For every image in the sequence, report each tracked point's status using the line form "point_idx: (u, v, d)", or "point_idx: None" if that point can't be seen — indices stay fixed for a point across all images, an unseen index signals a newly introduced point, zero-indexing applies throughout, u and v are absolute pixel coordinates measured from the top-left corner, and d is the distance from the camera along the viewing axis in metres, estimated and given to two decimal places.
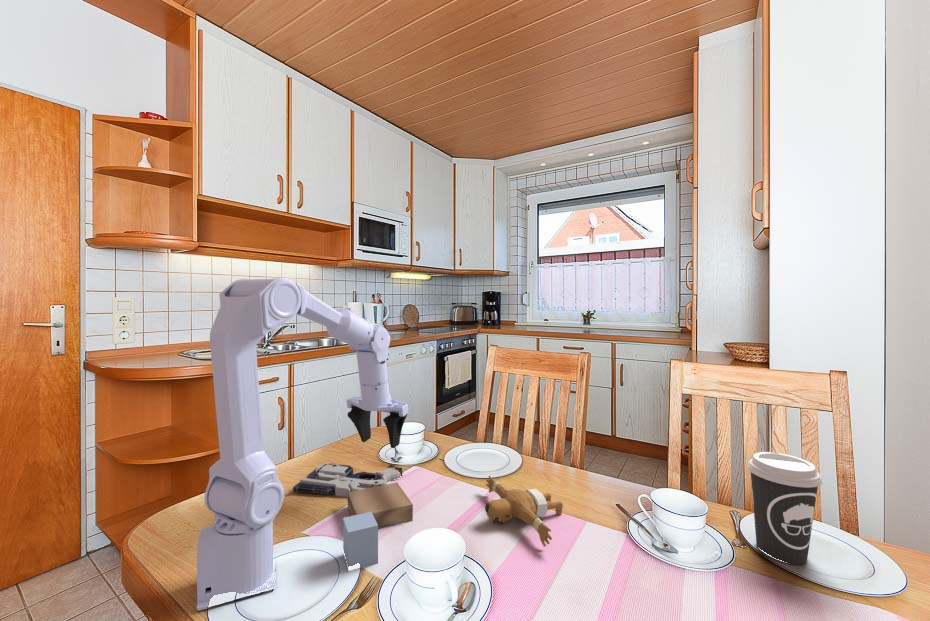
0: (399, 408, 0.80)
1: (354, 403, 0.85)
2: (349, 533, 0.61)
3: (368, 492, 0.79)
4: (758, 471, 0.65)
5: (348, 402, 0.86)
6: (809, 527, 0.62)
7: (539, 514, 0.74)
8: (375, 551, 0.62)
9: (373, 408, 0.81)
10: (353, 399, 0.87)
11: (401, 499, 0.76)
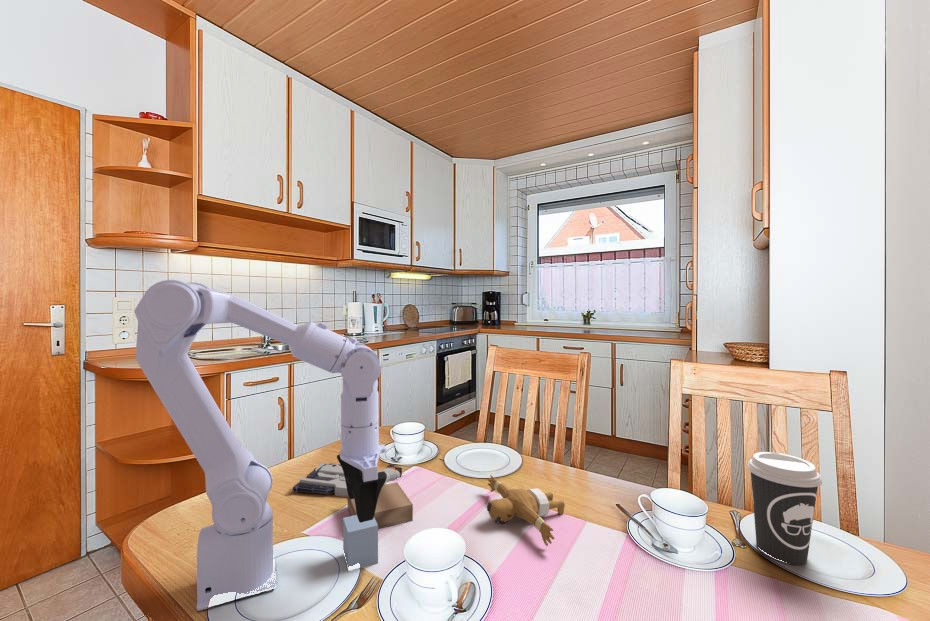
0: (362, 468, 0.57)
1: None
2: (349, 533, 0.61)
3: None
4: (758, 471, 0.65)
5: None
6: (809, 527, 0.62)
7: (541, 513, 0.74)
8: (375, 551, 0.62)
9: (344, 457, 0.61)
10: None
11: (401, 499, 0.76)
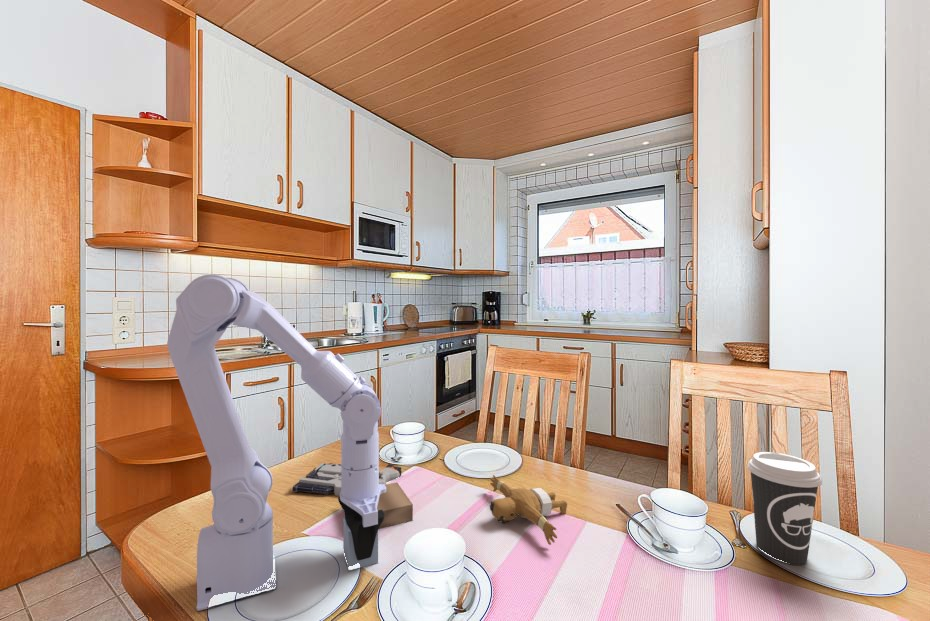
0: (362, 513, 0.57)
1: None
2: (349, 533, 0.61)
3: None
4: (758, 471, 0.65)
5: None
6: (809, 527, 0.62)
7: (544, 513, 0.75)
8: (375, 551, 0.62)
9: (344, 499, 0.61)
10: None
11: (401, 499, 0.76)
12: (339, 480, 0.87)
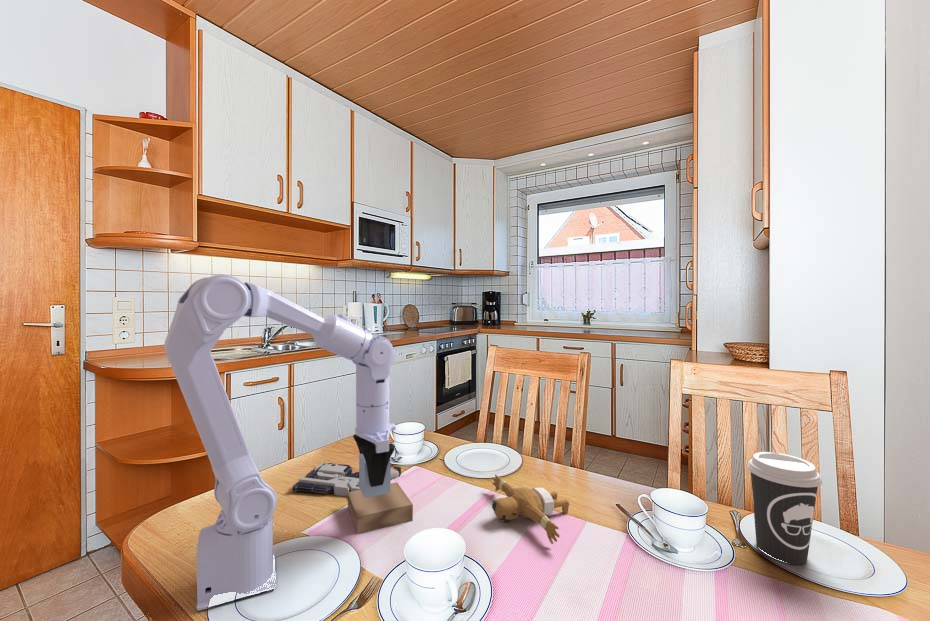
0: (375, 441, 0.65)
1: None
2: (365, 464, 0.69)
3: None
4: (758, 471, 0.65)
5: None
6: (809, 527, 0.62)
7: (546, 512, 0.75)
8: (388, 481, 0.70)
9: (359, 433, 0.69)
10: None
11: (401, 499, 0.76)
12: (339, 480, 0.87)
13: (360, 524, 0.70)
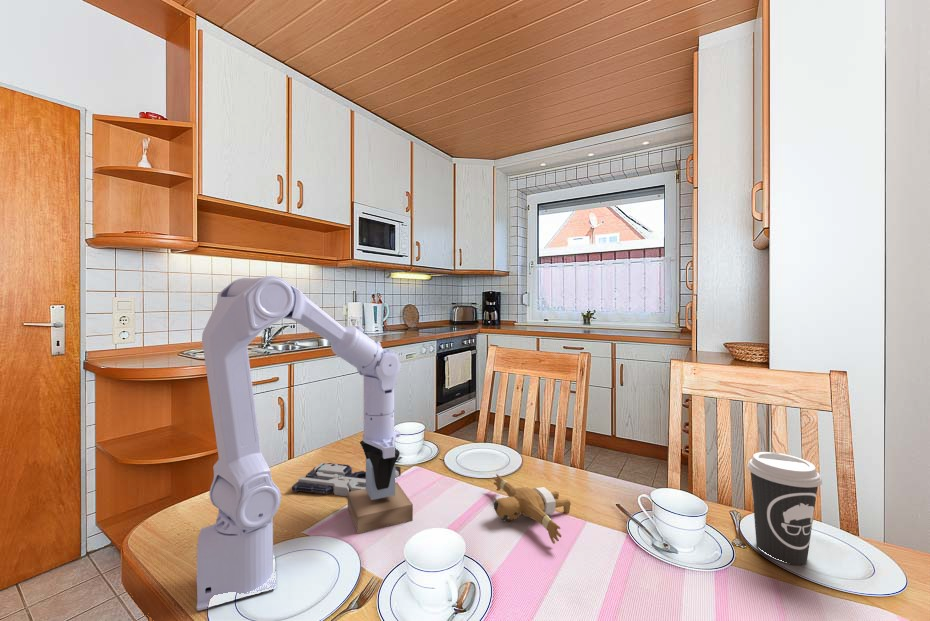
0: (382, 448, 0.70)
1: None
2: (372, 468, 0.74)
3: None
4: (758, 471, 0.65)
5: None
6: (809, 527, 0.62)
7: (547, 512, 0.75)
8: (393, 485, 0.76)
9: (366, 440, 0.74)
10: None
11: (401, 499, 0.76)
12: (338, 480, 0.87)
13: (360, 524, 0.70)
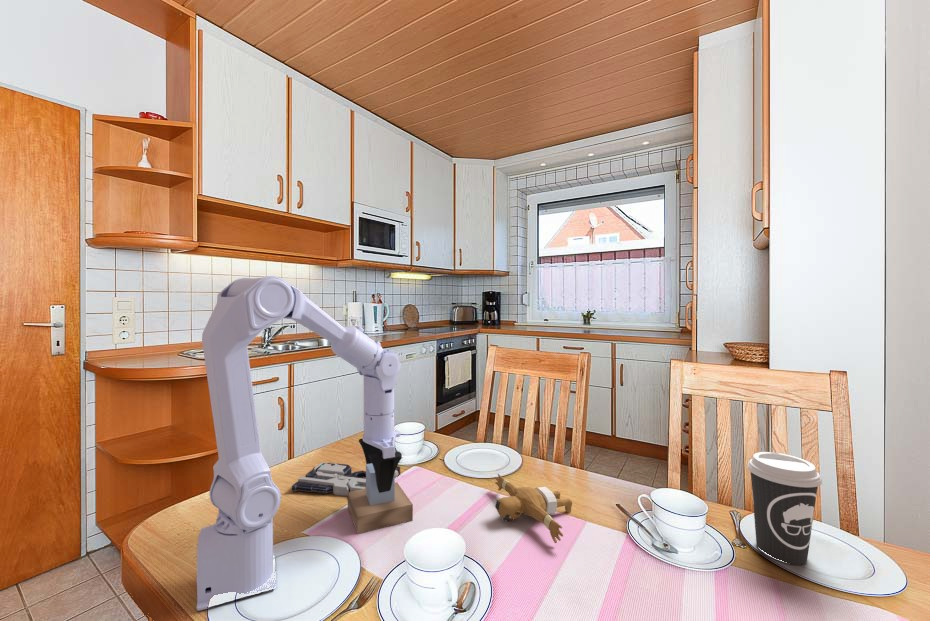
0: (382, 448, 0.70)
1: None
2: (371, 474, 0.74)
3: None
4: (758, 471, 0.65)
5: None
6: (809, 527, 0.62)
7: (549, 511, 0.75)
8: (392, 490, 0.76)
9: (366, 440, 0.74)
10: None
11: (401, 499, 0.76)
12: (338, 479, 0.87)
13: (360, 524, 0.70)
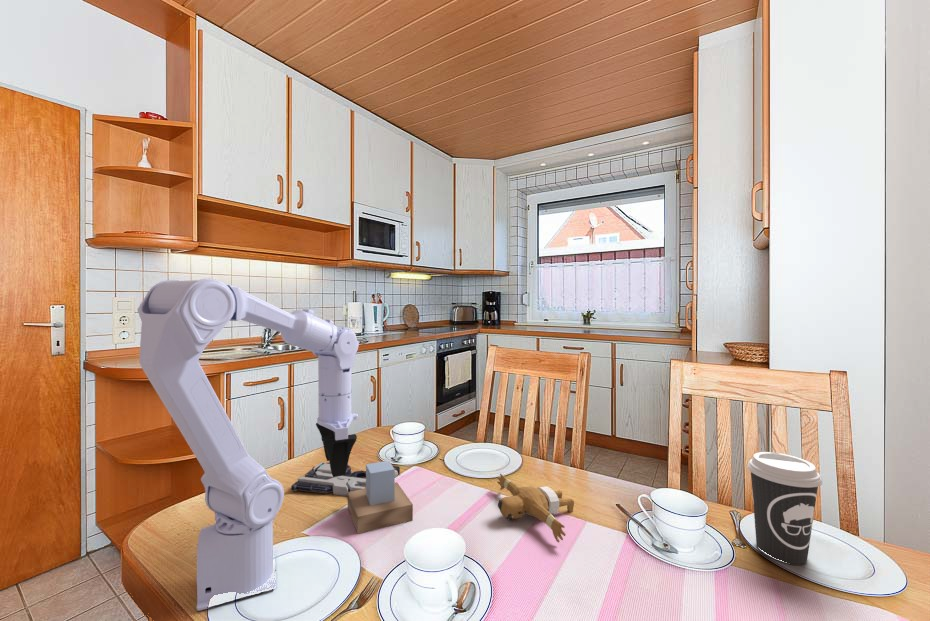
0: (334, 429, 0.67)
1: None
2: (371, 474, 0.74)
3: None
4: (758, 471, 0.65)
5: None
6: (809, 527, 0.62)
7: (551, 511, 0.75)
8: (392, 490, 0.76)
9: (320, 422, 0.71)
10: None
11: (401, 499, 0.76)
12: (338, 479, 0.87)
13: (360, 524, 0.70)
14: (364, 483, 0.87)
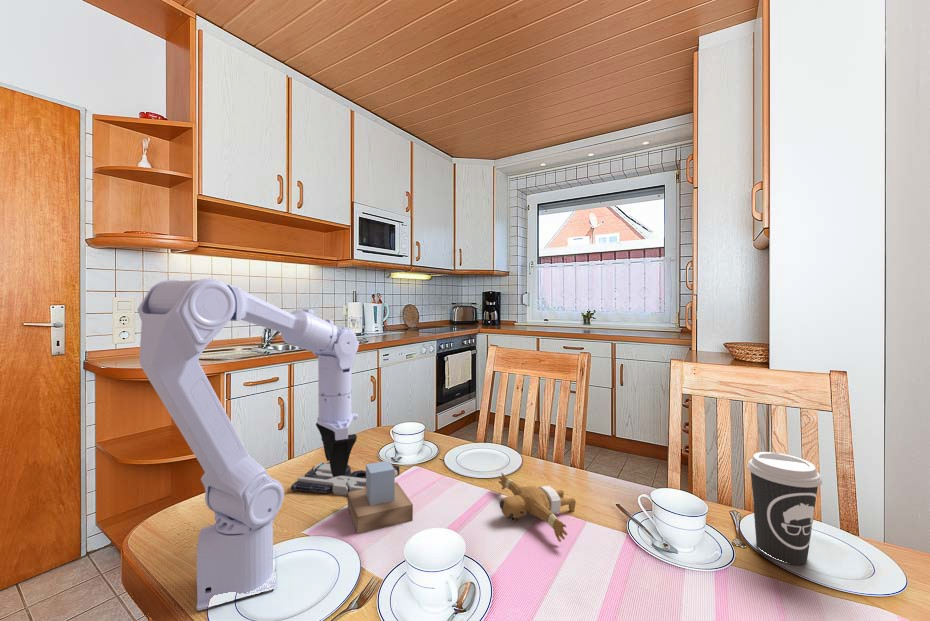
0: (334, 429, 0.67)
1: None
2: (371, 474, 0.74)
3: None
4: (758, 471, 0.65)
5: None
6: (809, 527, 0.62)
7: (553, 510, 0.76)
8: (392, 490, 0.76)
9: (320, 422, 0.71)
10: None
11: (401, 499, 0.76)
12: (337, 479, 0.88)
13: (360, 524, 0.70)
14: (364, 483, 0.87)
